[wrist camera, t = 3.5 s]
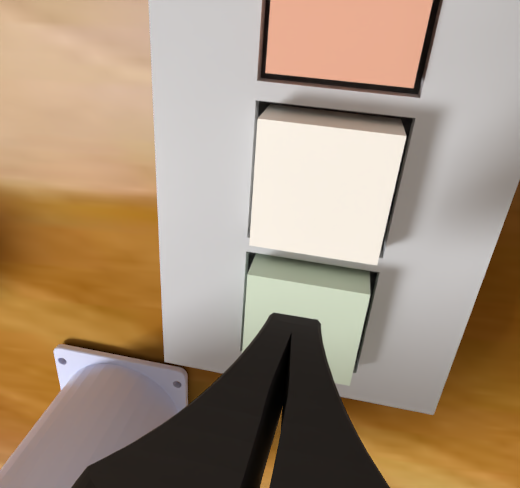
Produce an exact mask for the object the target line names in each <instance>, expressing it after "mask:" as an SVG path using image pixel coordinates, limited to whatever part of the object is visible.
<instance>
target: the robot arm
mask: <svg viewBox="0 0 520 488" xmlns="http://www.w3.org/2000/svg"><path fill="white" fill-rule="evenodd" d="M54 357H55V362H56V367H57V372H58V377H59V382H60V387H61V391H60V393H59V394H58V395H57V397H56V398H55V399H54V400H53V402H52V403H51V404H50V406H49V407H48V408H47V410H46V411H45V412H44V413H43V415H42V416H41V417H40V419H39V420H38V421H37V423H36V424H35V425H34V426H33V428H32V429H31V430H30V432H29V433H28V434H27V436H26V437H25V438H24V439H23V441H22V442H21V443H20V445H19V446H18V447H17V449H16V450H15V451H14V453H13V454H12V455H11V456H10V458H9V459H8V460H7V462H6V463H5V464H4V466H3V467H2V468H1V469H0V488H260V484H261V480H262V476H263V473H264V469H265V466H266V462H267V459H268V455H269V452H270V448H271V445H272V441H273V438H274V434H275V431H276V427H277V424H278V420H279V417H280V413H281V410H282V406H283V410H282V422H281V434H280V439H279V444H278V449H277V454H276V459H275V464H274V469H273V474H272V479H271V483H270V488H390V487H389V486H388V484H387V483H386V481H385V479H384V478H383V476H382V475H381V473H380V471H379V470H378V468H377V467H376V465H375V464H374V462H373V460H372V459H371V457H370V456H369V454H368V452H367V451H366V449H365V447H364V445H363V443H362V442H361V440H360V438H359V436H358V434H357V432H356V430H355V428H354V426H353V424H352V422H351V420H350V418H349V416H348V414H347V412H346V410H345V407H344V405H343V403H342V400H341V398H340V395H339V393H338V390H337V388H336V385H335V382H334V379H333V376H332V373H331V370H330V367H329V364H328V361H327V357H326V353H325V349H324V345H323V340H322V333H321V323H320V322H319V321H318V320H317V319H310V318H304V317H298V316H292V315H286V314H280V313H272V314H271V315H269V317H268V319H267V321H266V322H265V324H264V325H263V327H262V328H261V330H260V331H259V333H258V334H257V335H256V336H255V338H254V339H253V340H252V342H251V343H250V344H249V345H248V347H247V348H246V349H245V350H244V351H243V353H242V354H241V355H240V356H239V357H238V358H237V360H236V361H235V362H234V363H233V364H232V365H231V366H230V367H229V368H228V369H227V370H226V371H225V372H224V373H223V374H222V375H221V376H220V377H219V378H218V379H217V380H216V381H215V382H214V383H213V384H212V385H211V386H210V387H209V388H208V389H206V390H205V391H204V392H203V393H202V394H201V395H199V396H198V397H197V398H196V399H195V400H194V401H192V402H191V403H190V404H188V375H187V372H186V371H185V370H184V369H183V368H181V367H176V366H171V365H166V364H161V363H156V362H151V361H146V360H141V359H136V358H131V357H126V356H121V355H116V354H111V353H106V352H101V351H96V350H91V349H85V348H80V347H75V346H70V345H65V344H59V345H58V346H57V347H56V348H55V349H54ZM177 381H178V382H177ZM179 382H180V383H179Z"/></svg>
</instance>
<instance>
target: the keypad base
mask: <svg viewBox="0 0 520 488" xmlns="http://www.w3.org/2000/svg"><path fill="white" fill-rule="evenodd" d="M269 14H270V0H149V22H150V45H151V68H152V90H153V113H154V136H155V159H156V182H157V205H158V227H159V250H160V273H161V296H162V319H163V342H164V362H167V363H172V364H177V365H182V366H187V367H192V368H197V369H203V370H208V371H213V372H218V373H224V372H225V371H226V370H227V369H228V368H229V367H230V366H231V365H232V364H233V363H234V362H235V361H236V360H237V358H238V357H239V356H240V355H241V354H242V347H243V332H244V317H245V302H246V287H247V274H248V272H249V269H250V267H251V264H252V262H253V259H254V257H255V255H256V253H260V254H266V255H272V256H278V257H285V258H291V259H297V260H304V261H310V262H316V263H323V264H329V265H335V266H342V267H348V268H354V269H361V270H367V271H370V299H369V303H368V308H367V312H366V317H365V321H364V325H363V330H362V334H361V339H360V343H359V347H358V352H357V356H356V361H355V365H354V369H353V374H352V378H351V383H350V386H347V385H342V384H337V383H335V385H336V388H337V390H338V393H339V395H340V397H345V398H350V399H355V400H360V401H365V402H370V403H375V404H380V405H385V406H390V407H395V408H400V409H405V410H410V411H416V412H421V413H426V414H431V415H434V412H435V410H436V407H437V404H438V401H439V399H440V396H441V393H442V390H443V388H444V385H445V382H446V380H447V377H448V374H449V371H450V369H451V366H452V363H453V360H454V358H455V355H456V352H457V349H458V347H459V344H460V341H461V339H462V336H463V333H464V330H465V328H466V325H467V322H468V319H469V317H470V314H471V311H472V309H473V306H474V303H475V300H476V298H477V295H478V292H479V289H480V287H481V284H482V281H483V278H484V276H485V273H486V270H487V268H488V265H489V262H490V259H491V257H492V254H493V251H494V248H495V246H496V243H497V240H498V238H499V235H500V232H501V229H502V227H503V224H504V221H505V218H506V216H507V213H508V210H509V207H510V205H511V202H512V199H513V197H514V194H515V191H516V188H517V186H518V183H519V180H520V0H433V3H432V7H431V12H430V16H429V21H428V25H427V30H426V34H425V39H424V43H423V48H422V52H421V57H420V61H419V65H418V70H417V74H416V79H415V83H414V88H406V87H396V86H386V85H377V84H367V83H357V82H348V81H338V80H328V79H319V78H309V77H299V76H290V75H280V74H270V73H265V71H266V57H267V43H268V28H269ZM270 104H273V105H282V106H291V107H300V108H309V109H318V110H326V111H335V112H344V113H353V114H362V115H371V116H380V117H389V118H398V119H401V121H402V124H403V127H404V130H405V133H406V141H405V145H404V149H403V154H402V158H401V163H400V167H399V171H398V176H397V180H396V185H395V189H394V193H393V198H392V202H391V207H390V211H389V215H388V220H387V224H386V229H385V233H384V237H383V242H382V246H381V251H380V255H379V259H378V264H377V265H371V264H364V263H358V262H352V261H345V260H339V259H332V258H326V257H320V256H313V255H307V254H300V253H294V252H288V251H281V250H275V249H269V248H262V247H256V246H249V241H250V226H251V211H252V196H253V180H254V165H255V150H256V135H257V120H258V117H259V116H260V115H261V114H262V113H263V112H264V111H265V109H266V108H267V107H268V106H269V105H270Z"/></svg>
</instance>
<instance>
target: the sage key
mask: <svg viewBox="0 0 520 488" xmlns="http://www.w3.org/2000/svg"><path fill="white" fill-rule="evenodd" d="M369 299H370V271H367V270H361V269H354V268H348V267H342V266H335V265H329V264H323V263H316V262H310V261H304V260H297V259H291V258H285V257H278V256H272V255H266V254H260V253H256V255H255V257H254V259H253V262H252V264H251V267H250V269H249V272H248V274H247V287H246V302H245V317H244V332H243V347H242V353H243V351H244V350H245V349H246V348H247V347H248V345H249V344H250V343H251V342H252V340H253V339H254V338H255V336H256V335H257V334H258V333H259V331H260V330H261V328H262V327H263V325H264V324H265V322H266V321H267V319H268V317H269V315H271V314H272V313H280V314H286V315H292V316H298V317H304V318H310V319H317V320H318V321H319V322H320V323H321V333H322V340H323V345H324V349H325V353H326V357H327V361H328V364H329V367H330V370H331V373H332V376H333V379H334V382H335V383H337V384H342V385H347V386H350V383H351V378H352V374H353V369H354V365H355V361H356V356H357V352H358V347H359V343H360V339H361V334H362V330H363V325H364V321H365V317H366V312H367V308H368V303H369Z"/></svg>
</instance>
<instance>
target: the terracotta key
mask: <svg viewBox="0 0 520 488" xmlns="http://www.w3.org/2000/svg"><path fill="white" fill-rule="evenodd" d="M432 3H433V0H270V14H269V28H268V43H267V57H266V71H265V73H270V74H280V75H290V76H299V77H309V78H319V79H328V80H338V81H348V82H357V83H367V84H377V85H386V86H396V87H406V88H414V83H415V79H416V74H417V70H418V65H419V61H420V57H421V52H422V48H423V43H424V39H425V34H426V30H427V25H428V21H429V16H430V12H431V7H432Z"/></svg>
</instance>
